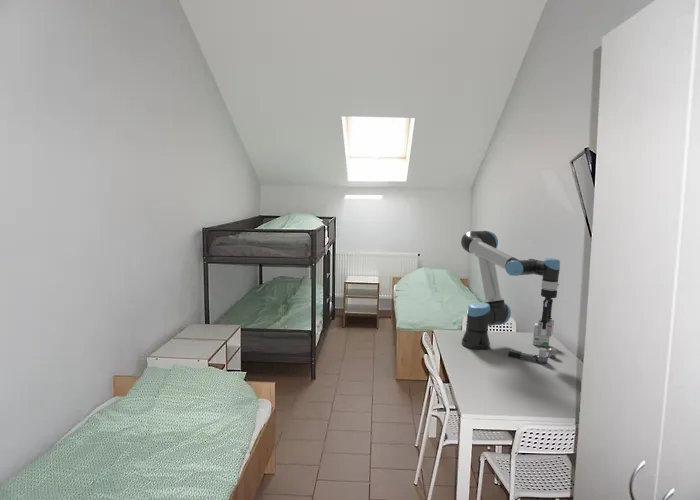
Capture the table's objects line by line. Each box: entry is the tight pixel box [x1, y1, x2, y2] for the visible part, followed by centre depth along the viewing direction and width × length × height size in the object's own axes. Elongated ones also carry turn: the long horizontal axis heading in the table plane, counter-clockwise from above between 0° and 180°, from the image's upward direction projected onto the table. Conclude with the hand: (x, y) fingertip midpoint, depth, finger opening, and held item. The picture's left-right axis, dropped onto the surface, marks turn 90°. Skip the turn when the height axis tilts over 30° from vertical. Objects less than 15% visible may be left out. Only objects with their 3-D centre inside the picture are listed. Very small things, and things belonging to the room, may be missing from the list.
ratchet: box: [508, 347, 549, 365], centre depth 269 cm, size 19×6×7 cm, turn 60°
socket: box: [537, 317, 555, 338], centre depth 263 cm, size 6×6×7 cm
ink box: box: [532, 322, 550, 348], centre depth 295 cm, size 8×5×12 cm, turn 70°
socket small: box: [547, 347, 558, 359], centre depth 274 cm, size 4×4×4 cm
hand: (544, 333), depth 264 cm, fingers closed on socket, 6 cm apart
